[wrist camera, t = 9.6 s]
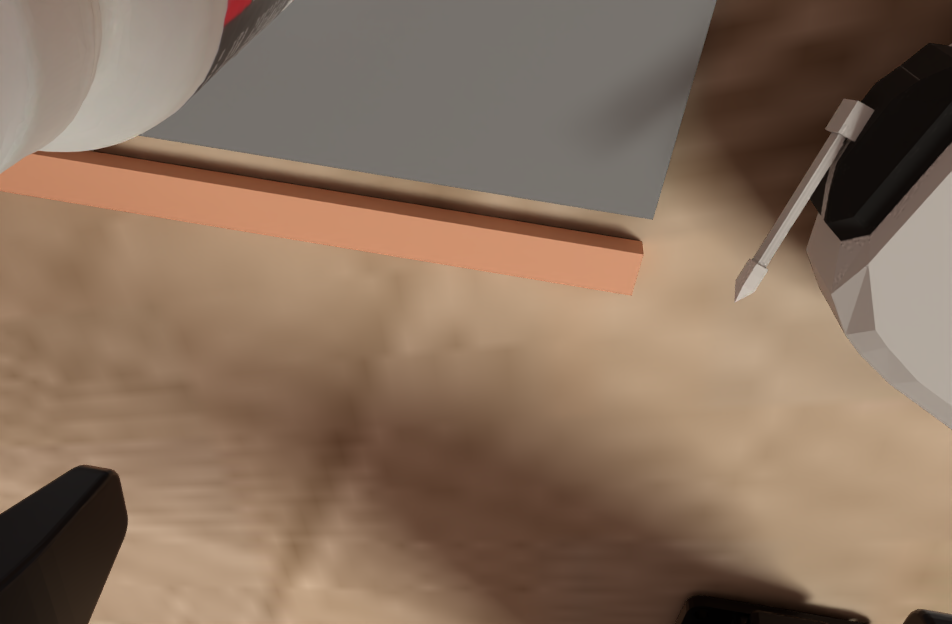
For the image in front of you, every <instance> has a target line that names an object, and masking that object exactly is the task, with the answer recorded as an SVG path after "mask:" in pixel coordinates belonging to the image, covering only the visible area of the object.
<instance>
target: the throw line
mask: <svg viewBox="0 0 952 624" xmlns="http://www.w3.org/2000/svg"><path fill="white" fill-rule="evenodd" d="M0 191H3V192H9V193H15V194H22V195H28V196H34V197H40V198H46V199H52V200H58V201H64V202H70V203H76V204H82V205H88V206H94V207H100V208H106V209H112V210H118V211H124V212H130V213H136V214H142V215H148V216H154V217H160V218H166V219H172V220H179V221H185V222H191V223H197V224H203V225H209V226H215V227H221V228H227V229H233V230H239V231H245V232H251V233H257V234H263V235H269V236H275V237H281V238H287V239H293V240H299V241H305V242H311V243H317V244H323V245H329V246H336V247H342V248H348V249H354V250H360V251H366V252H372V253H378V254H384V255H390V256H396V257H402V258H408V259H414V260H420V261H426V262H432V263H438V264H444V265H450V266H456V267H462V268H468V269H474V270H480V271H486V272H493V273H499V274H505V275H511V276H517V277H523V278H529V279H535V280H541V281H547V282H553V283H559V284H565V285H571V286H577V287H583V288H589V289H595V290H601V291H607V292H613V293H619V294H625V295H631V296H632V292H633V289H634V285H635V282H636V279H637V275H638V272H639V268H640V265H641V261H642V258H643V245H642V241H636V240H630V239H624V238H617V237H611V236H605V235H599V234H593V233H587V232H581V231H575V230H569V229H563V228H557V227H551V226H544V225H538V224H532V223H526V222H520V221H514V220H508V219H502V218H496V217H490V216H484V215H477V214H471V213H465V212H459V211H453V210H447V209H441V208H435V207H429V206H423V205H417V204H410V203H404V202H398V201H392V200H386V199H380V198H374V197H368V196H362V195H356V194H350V193H343V192H337V191H331V190H325V189H319V188H313V187H307V186H301V185H295V184H289V183H283V182H276V181H270V180H264V179H258V178H252V177H246V176H240V175H234V174H228V173H222V172H216V171H210V170H203V169H197V168H191V167H185V166H179V165H173V164H167V163H161V162H155V161H149V160H143V159H136V158H130V157H124V156H118V155H112V154H106V153H100V152H94V151H81V152H47V151H37V152H34V153H32V154H30V155H28V156H26V157H24V158H23V159H21V160H20V161H18V162H17V163H16V164H14V165H13V166H11V167H10V168H8V169H7V170H5V171H4V172H2V173H1V174H0Z"/></svg>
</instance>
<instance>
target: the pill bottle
mask: <svg viewBox="0 0 952 624" xmlns="http://www.w3.org/2000/svg"><path fill="white" fill-rule="evenodd" d="M293 1H294V0H0V174H1V173H2V172H4V171H5V170H7V169H8V168H10V167H11V166H13V165H14V164H16V163H17V162H18V161H20V160H21V159H23V158H24V157H26V156H28V155H30V154H32V153H34V152H37V151H47V152H81V151H88V150H95V149H100V148H104V147H109V146H112V145H116V144H119V143H122V142H124V141H127V140H130V139H132V138H134V137H136V136H138V135H140V134H142V133H144V132H146V131H148V130H149V129H151V128H153V127H154V126H156V125H158V124H159V123H161V122H162V121H164V120H165V119H167V118H168V117H170V116H171V115H173V114H174V113H176V112H177V111H178V110H179V109H180V108H181V107H183V106H184V105H185V104H186V102H187V101H188V100H189V99H190V98H191V97H192V96H193V95H195V94H196V93H197V92H198V91H199V90H200V89H201V88H202V87H203V86H204V85H205V84H206V83H207V82H208V81H209V80H210V79H211V78H212V77H213V76H214V75H215V74H216V73H217V72H218V71H219V70H220V69H221V68H222V67H223V66H224V65H225V64H226V63H227V62H228V61H229V60H230V59H232V58H233V57H235V56H236V55H237V54H238V53H239V52H240V50H241V49H243V48H244V47H245V46H246V45H247V44H248V43H249V42H250V41H251V40H252V39H253V38H255V37H256V36H257V35H258V34H259V33H260V32H261V31H262V30H263V29H264V28H265V27H266V26H268V25H269V24H270V23H271V22H272V21H273V20H274V19H275V18H276V17H277V16H278V15H279V14H280V13H281V12H282V11H283V10H284V9H285V8H286V7H287V6H288V5H289V4H291V3H292V2H293Z"/></svg>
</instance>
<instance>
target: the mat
mask: <svg viewBox="0 0 952 624" xmlns="http://www.w3.org/2000/svg"><path fill="white" fill-rule="evenodd" d="M716 1H717V0H294V1H293V2H292V3H291V4H289V5H288V6H287V7H286V8H285V9H284V10H283V11H282V12H281V13H280V14H279V15H278V16H277V17H276V18H275V19H274V20H273V21H272V22H271V23H270V24H269V25H268V26H266V27H265V28H264V29H263V30H262V31H261V32H260V33H259V34H258V35H257V36H256V37H255V38H253V39H252V40H251V41H250V42H249V43H248V44H247V45H246V46H245V47H244V48H243V49H241V50H240V52H239V53H238V54H237V55H236V56H235V57H233V58H232V59H230V60H229V61H228V62H227V63H226V64H225V65H224V66H223V67H222V68H221V69H220V70H219V71H218V72H217V73H216V74H215V75H214V76H213V77H212V78H211V79H210V80H209V81H208V82H207V83H206V84H205V85H204V86H203V87H202V88H201V89H200V90H199V91H198V92H197V93H196V94H195V95H193V96H192V97H191V98H190V99H189V100H188V101H187V102H186V104H185V105H184V106H183V107H181V108H180V109H179V110H178V111H177V112H176V113H174V114H173V115H171V116H170V117H168V118H167V119H165V120H164V121H162V122H161V123H159V124H158V125H156V126H154V127H153V128H151V129H149V130H148V131H146V132H144V133H142V134H140V135H139V136H145V137H151V138H157V139H163V140H169V141H175V142H182V143H188V144H194V145H200V146H206V147H212V148H218V149H224V150H230V151H237V152H243V153H249V154H255V155H261V156H267V157H273V158H279V159H285V160H292V161H298V162H304V163H310V164H316V165H322V166H328V167H334V168H340V169H347V170H353V171H359V172H365V173H371V174H377V175H383V176H389V177H395V178H401V179H408V180H414V181H420V182H426V183H432V184H438V185H444V186H450V187H456V188H463V189H469V190H475V191H481V192H487V193H493V194H499V195H505V196H511V197H518V198H524V199H530V200H536V201H542V202H548V203H554V204H560V205H566V206H573V207H579V208H585V209H591V210H597V211H603V212H609V213H615V214H621V215H628V216H634V217H640V218H646V219H652V220H653V217H654V214H655V210H656V207H657V203H658V200H659V197H660V193H661V190H662V186H663V183H664V179H665V176H666V173H667V169H668V166H669V162H670V159H671V155H672V152H673V149H674V145H675V142H676V138H677V135H678V131H679V128H680V125H681V121H682V118H683V114H684V111H685V107H686V104H687V100H688V97H689V94H690V90H691V87H692V83H693V80H694V76H695V73H696V70H697V66H698V63H699V59H700V56H701V52H702V49H703V46H704V42H705V39H706V35H707V32H708V28H709V25H710V22H711V18H712V15H713V11H714V8H715V4H716Z"/></svg>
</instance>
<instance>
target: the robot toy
mask: <svg viewBox="0 0 952 624" xmlns="http://www.w3.org/2000/svg"><path fill="white" fill-rule="evenodd" d="M825 129H826V130H827V131H829V132H831V134H830V136H829V137H828V139H827V141H826V142H825V144H824V145H823V147H822V149H821V150H820V152H819V153H818V155H817V157H816V158H815V160H814V161H813V163H812V165H811V166H810V168H809V169H808V171H807V173H806V174H805V176H804V177H803V179H802V181H801V182H800V184H799V185H798V187H797V189H796V190H795V192H794V193H793V195H792V197H791V198H790V200H789V202H788V203H787V205H786V206H785V208H784V210H783V211H782V213H781V214H780V216H779V218H778V219H777V221H776V222H775V224H774V226H773V227H772V229H771V230H770V232H769V234H768V235H767V237H766V238H765V240H764V242H763V243H762V245H761V246H760V248H759V250H758V251H757V253H756V254H755V256H754V258H753V259H752V260H751V259H749V260H748V261H747V263H746V265H745V266H744V268H743V269H742V271H741V273H740V274H739V276H738V277H737V279H736V285H735V302H737V301H739V300H741V299H742V298H744V297H746V296H748V295H750V294H752V293H753V292H755V290H756V289H757V287H758V285H759V284H760V282H761V281H762V279H763V278H764V276H765V274H766V273H767V271H768V269H766V267H767V265H768V264H769V262H770V260H771V259H772V257H773V256H774V254H775V253H776V251H777V249H778V248H779V246H780V245H781V243H782V241H783V240H784V238H785V237H786V235H787V233H788V232H789V230H790V229H791V227H792V226H793V224H794V222H795V221H796V219H797V218H798V216H799V214H800V213H801V211H802V210H803V208H804V207H805V205H806V203H807V202H808V200H809V199H810V200H811V201H812V203H813V205H814V206H815V208H816V209H817V211H818V215H817V218H816V221H815V224H814V227H813V230H812V233H811V236H810V239H809V242H808V245H807V248H806V252H807V255H808V257H809V260H810V263H811V266H812V268H813V271H814V274H815V277H816V280H817V282H818V285H819V288H820V290H821V292H822V294H823V295H824V297H825V299H826V301H827V303H828V304H829V306H830V308H831V310H832V312H833V313H834V315H835V317H836V319H837V321H838V323H839V324H840V326H841V328H842V330H843V332H844V333H845V335H846V337H847V338H848V339H849V341H850V342H851V343H852V345H853V346H854V348H855V349H856V350H857V352H858V353H859V354H860V355H861V356H862V357H863V358H864V359H865V360H866V361H867V362H868V363H869V364H870V365H871V366H872V367H873V368H874V369H875V370H876V371H877V372H878V373H879V374H880V375H881V376H882V377H883V378H884V379H885V380H886V381H887V382H888V383H889V384H890V385H892V386H893V387H894V388H896V389H897V390H898V391H900V392H901V393H902V394H904V395H905V396H907V397H908V398H909V399H911V400H912V401H913V402H915V403H916V404H917V405H919V406H920V407H922V408H923V409H924V410H926V411H927V412H928V413H930V414H931V415H933V416H934V417H935V418H937V419H938V420H939V421H941V422H942V423H943V424H945V425H946V426H948V427H949V428H950V429H952V44H950V45H948V46H946V45H940V44H933V43H929V44H927V45H926V46H925V47H923V48H922V49H921V50H920V51H918V52H917V53H916V54H915V55H913V56H912V57H911V58H910V59H908V60H907V61H906V62H905V63H903V64H902V65H901V66H899V67H898V68H897V69H895V70H894V71H892V72H891V73H890V74H888V75H887V76H885V77H884V78H882V79H881V80H880V81H878V82H877V83H876V84H875V85H874V86H873V87H872V89H871V90H870V91H869V92H868V94H867V95H866V96H865V98H864V99H863V100H862V101H861V102H859V101H856V100H850V99H843V101H842V102H841V104H840V106H839V107H838V109H837V110H836V112H835V114H834V115H833V117H832V118H831V120H830V122H829V123H828V125H827V126H826V128H825Z"/></svg>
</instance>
